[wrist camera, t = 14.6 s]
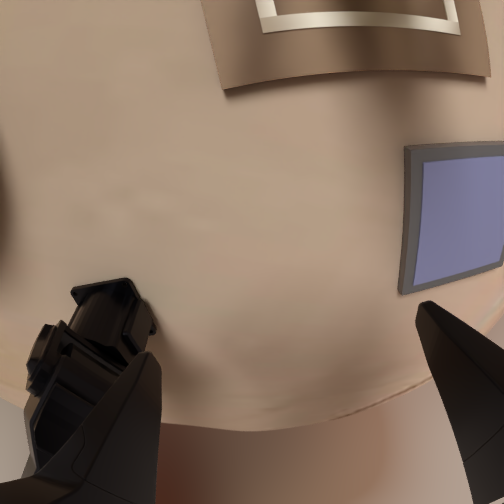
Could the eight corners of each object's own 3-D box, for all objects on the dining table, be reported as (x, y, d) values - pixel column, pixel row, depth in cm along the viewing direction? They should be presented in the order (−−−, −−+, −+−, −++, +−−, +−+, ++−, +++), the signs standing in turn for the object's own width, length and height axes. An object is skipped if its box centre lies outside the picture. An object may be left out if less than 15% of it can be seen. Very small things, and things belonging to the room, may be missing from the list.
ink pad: (397, 288, 26) (402, 296, 25) (404, 146, 19) (411, 150, 18) (497, 260, 25) (502, 266, 24) (516, 140, 18) (525, 144, 17)
